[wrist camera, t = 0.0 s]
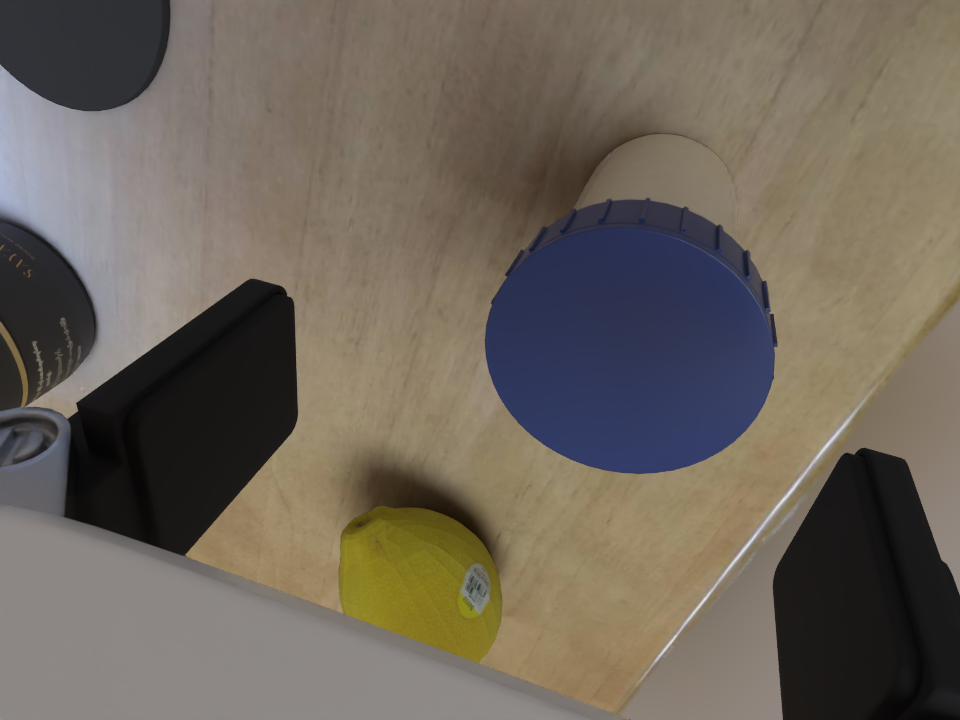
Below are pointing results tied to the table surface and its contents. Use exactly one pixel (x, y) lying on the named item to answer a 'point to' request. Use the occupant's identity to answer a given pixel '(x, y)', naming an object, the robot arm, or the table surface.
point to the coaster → (84, 48)
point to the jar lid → (632, 337)
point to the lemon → (421, 579)
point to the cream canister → (667, 178)
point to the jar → (38, 318)
